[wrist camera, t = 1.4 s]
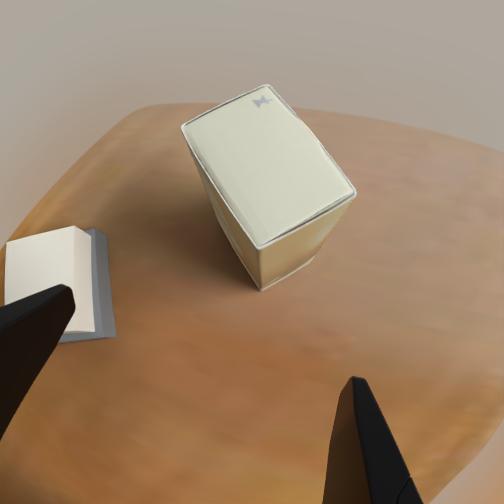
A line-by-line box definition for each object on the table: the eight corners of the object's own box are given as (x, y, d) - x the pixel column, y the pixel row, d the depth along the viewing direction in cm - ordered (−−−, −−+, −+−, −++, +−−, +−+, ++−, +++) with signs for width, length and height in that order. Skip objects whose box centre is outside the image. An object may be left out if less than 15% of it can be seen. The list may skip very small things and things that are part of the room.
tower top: (95, 331, 20) (76, 330, 18) (26, 335, 20) (6, 333, 18) (91, 236, 22) (74, 225, 19) (25, 250, 22) (6, 242, 20)
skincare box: (217, 221, 24) (172, 120, 12) (267, 193, 24) (265, 76, 12) (262, 297, 22) (255, 254, 10) (315, 264, 23) (362, 191, 11)
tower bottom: (119, 337, 22) (103, 337, 20) (42, 345, 22) (24, 345, 20) (109, 237, 24) (95, 227, 22) (37, 256, 24) (20, 249, 22)
